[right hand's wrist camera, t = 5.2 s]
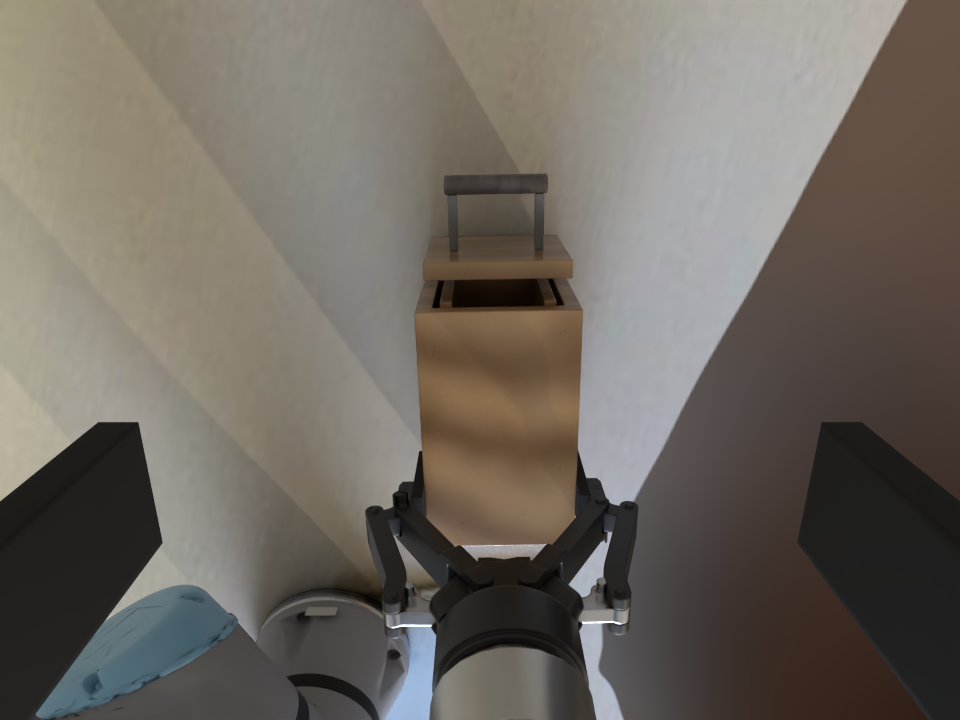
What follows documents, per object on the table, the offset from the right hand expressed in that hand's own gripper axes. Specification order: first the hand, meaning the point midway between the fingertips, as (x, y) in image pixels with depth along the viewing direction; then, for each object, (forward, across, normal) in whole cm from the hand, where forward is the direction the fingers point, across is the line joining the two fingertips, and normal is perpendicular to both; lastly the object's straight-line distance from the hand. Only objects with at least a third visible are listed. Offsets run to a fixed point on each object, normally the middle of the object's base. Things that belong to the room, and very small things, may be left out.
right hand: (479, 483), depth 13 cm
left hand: (+34, +2, -19) cm, 39 cm away
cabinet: (+41, +1, -14) cm, 43 cm away
